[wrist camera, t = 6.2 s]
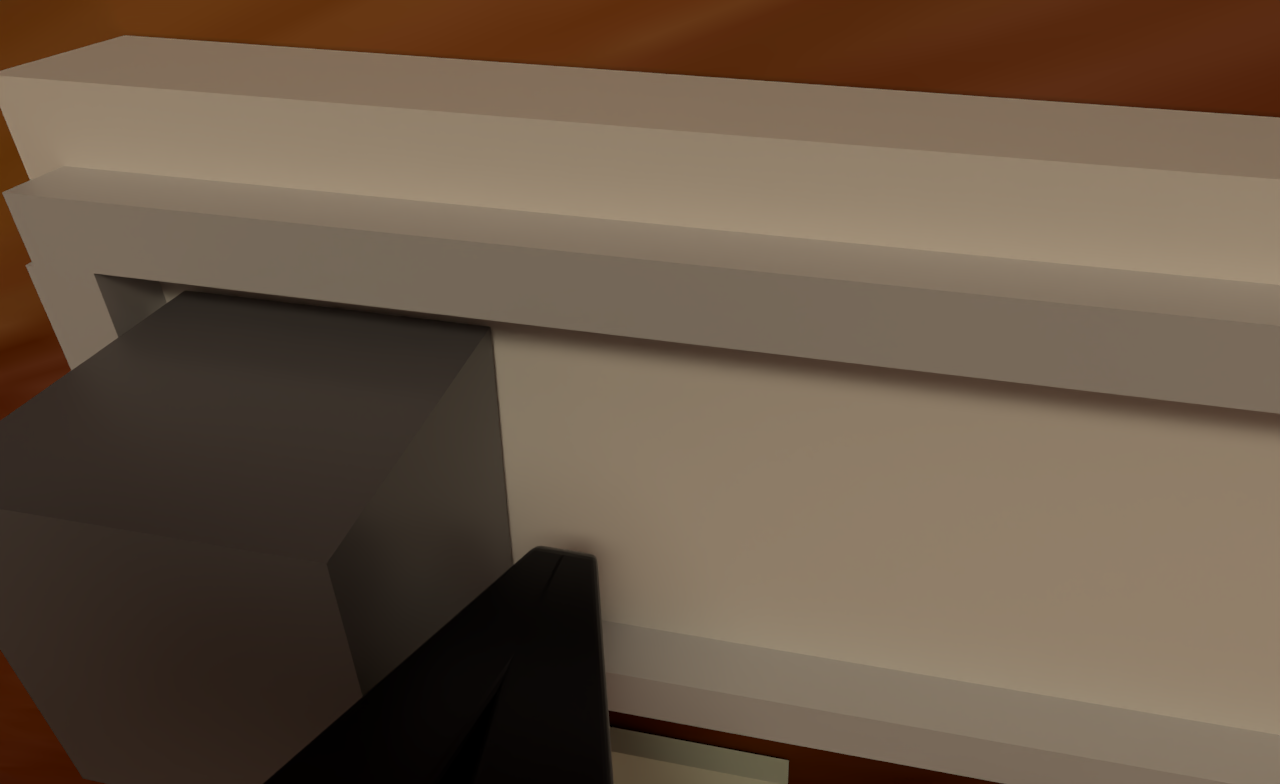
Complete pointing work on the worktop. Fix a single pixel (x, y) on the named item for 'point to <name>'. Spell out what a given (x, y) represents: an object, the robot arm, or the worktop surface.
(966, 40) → the worktop surface
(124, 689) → the switch tab
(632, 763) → the mat
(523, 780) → the robot arm
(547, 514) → the switch panel
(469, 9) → the worktop surface
